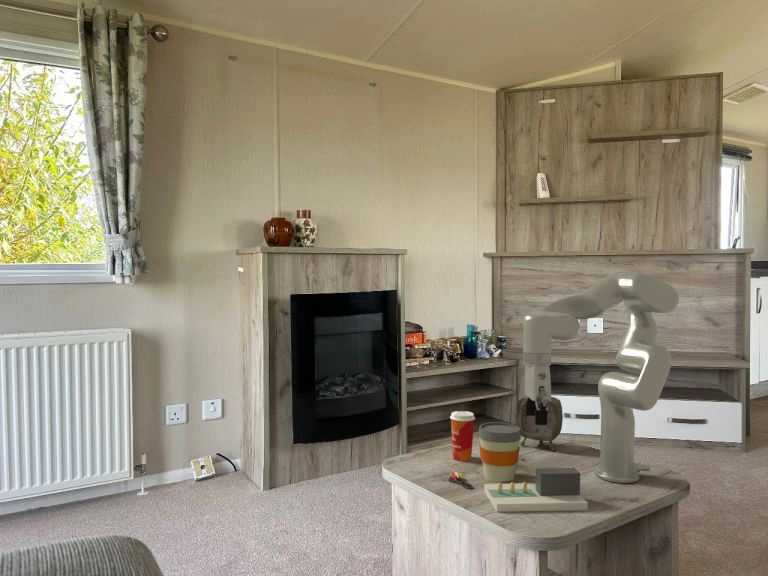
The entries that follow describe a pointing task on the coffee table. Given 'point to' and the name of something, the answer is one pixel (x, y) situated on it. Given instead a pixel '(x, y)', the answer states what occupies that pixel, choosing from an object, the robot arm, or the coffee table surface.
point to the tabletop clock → (540, 431)
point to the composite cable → (459, 480)
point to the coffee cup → (462, 435)
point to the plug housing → (557, 481)
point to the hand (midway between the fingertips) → (536, 419)
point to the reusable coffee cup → (499, 450)
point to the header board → (529, 499)
